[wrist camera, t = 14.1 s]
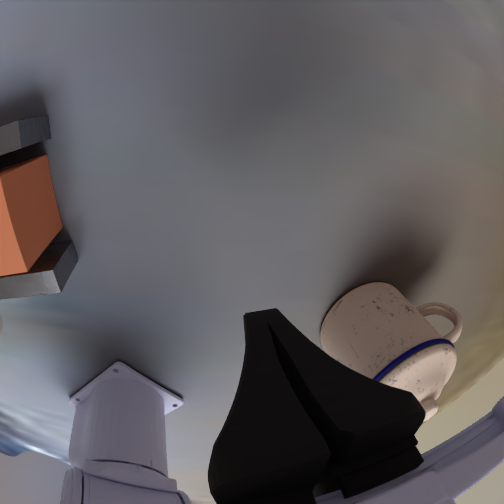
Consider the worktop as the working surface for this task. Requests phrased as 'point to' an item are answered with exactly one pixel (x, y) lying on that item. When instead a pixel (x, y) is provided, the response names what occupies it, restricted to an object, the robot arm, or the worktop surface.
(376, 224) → the worktop surface
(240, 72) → the worktop surface
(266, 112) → the worktop surface
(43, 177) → the block
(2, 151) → the coupler channel
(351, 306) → the teacup with lid
